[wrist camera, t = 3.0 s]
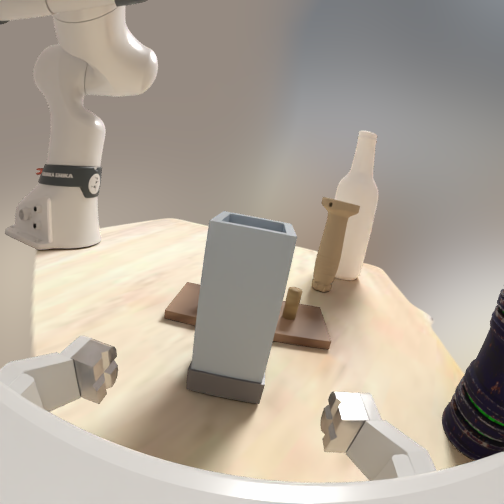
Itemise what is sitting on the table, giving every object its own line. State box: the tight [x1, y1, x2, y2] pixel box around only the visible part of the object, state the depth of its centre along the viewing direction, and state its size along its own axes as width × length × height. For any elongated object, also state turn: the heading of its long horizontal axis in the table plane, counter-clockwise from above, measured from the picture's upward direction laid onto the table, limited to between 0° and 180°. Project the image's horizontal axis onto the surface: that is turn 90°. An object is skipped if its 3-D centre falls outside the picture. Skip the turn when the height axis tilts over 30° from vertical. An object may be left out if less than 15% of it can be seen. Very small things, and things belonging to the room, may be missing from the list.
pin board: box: [165, 282, 331, 349], centre depth 34 cm, size 18×9×4 cm, turn 86°
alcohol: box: [335, 131, 378, 280], centre depth 57 cm, size 9×9×30 cm
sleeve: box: [186, 211, 297, 404], centre depth 21 cm, size 6×6×13 cm
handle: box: [312, 197, 360, 292], centre depth 47 cm, size 5×6×15 cm
